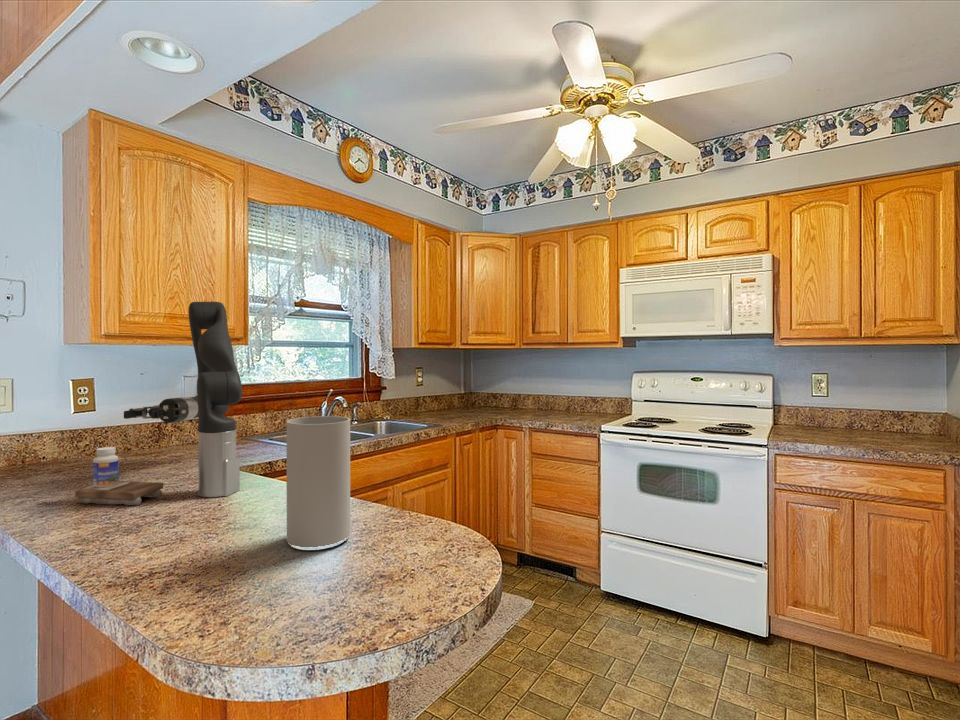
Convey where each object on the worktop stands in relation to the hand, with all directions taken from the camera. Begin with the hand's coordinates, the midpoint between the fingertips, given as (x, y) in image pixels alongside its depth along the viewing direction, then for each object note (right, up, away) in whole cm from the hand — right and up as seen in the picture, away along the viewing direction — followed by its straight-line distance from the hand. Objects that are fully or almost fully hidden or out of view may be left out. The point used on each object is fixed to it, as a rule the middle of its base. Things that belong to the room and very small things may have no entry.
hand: (138, 414), depth 142 cm
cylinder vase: (+63, -22, -38) cm, 77 cm away
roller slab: (+3, -21, -11) cm, 24 cm away
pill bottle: (-2, -18, -10) cm, 20 cm away
